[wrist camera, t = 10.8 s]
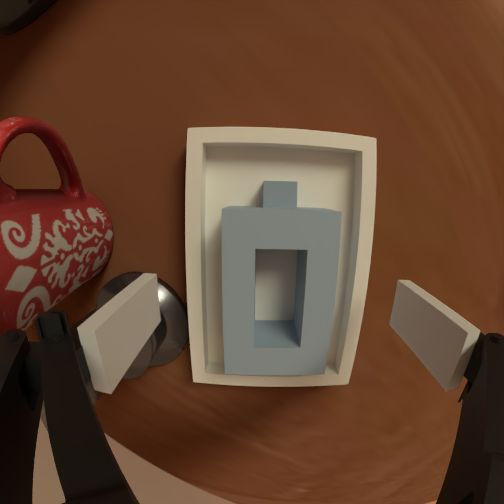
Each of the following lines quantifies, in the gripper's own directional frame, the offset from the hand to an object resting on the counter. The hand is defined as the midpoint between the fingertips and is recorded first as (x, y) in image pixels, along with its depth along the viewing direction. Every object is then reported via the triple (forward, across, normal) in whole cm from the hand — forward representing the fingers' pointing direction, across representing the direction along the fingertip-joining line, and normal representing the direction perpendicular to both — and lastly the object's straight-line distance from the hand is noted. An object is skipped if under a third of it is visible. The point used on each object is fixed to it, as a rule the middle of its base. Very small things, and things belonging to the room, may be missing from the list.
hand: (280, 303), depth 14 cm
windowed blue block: (+5, 0, 0) cm, 5 cm away
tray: (+6, 0, 0) cm, 6 cm away
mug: (+6, -15, +4) cm, 17 cm away
